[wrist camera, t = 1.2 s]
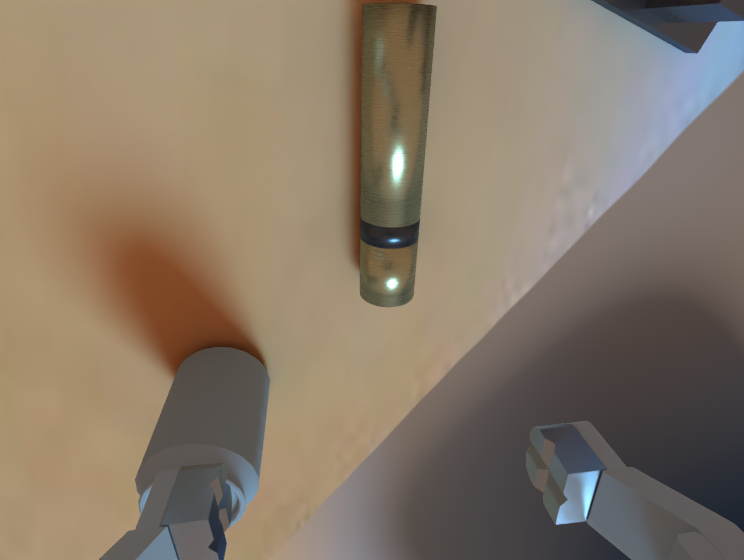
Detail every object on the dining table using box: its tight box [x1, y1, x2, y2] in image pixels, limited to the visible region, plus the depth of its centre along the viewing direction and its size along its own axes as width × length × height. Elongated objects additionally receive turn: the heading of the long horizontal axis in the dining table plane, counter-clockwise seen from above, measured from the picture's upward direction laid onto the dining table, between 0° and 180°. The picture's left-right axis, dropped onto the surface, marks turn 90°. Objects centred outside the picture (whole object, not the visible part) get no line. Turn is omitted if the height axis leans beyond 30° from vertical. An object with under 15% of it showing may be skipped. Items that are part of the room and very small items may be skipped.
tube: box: [360, 3, 437, 307], centre depth 28 cm, size 18×4×4 cm, turn 179°
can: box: [135, 347, 270, 528], centre depth 32 cm, size 8×8×12 cm
